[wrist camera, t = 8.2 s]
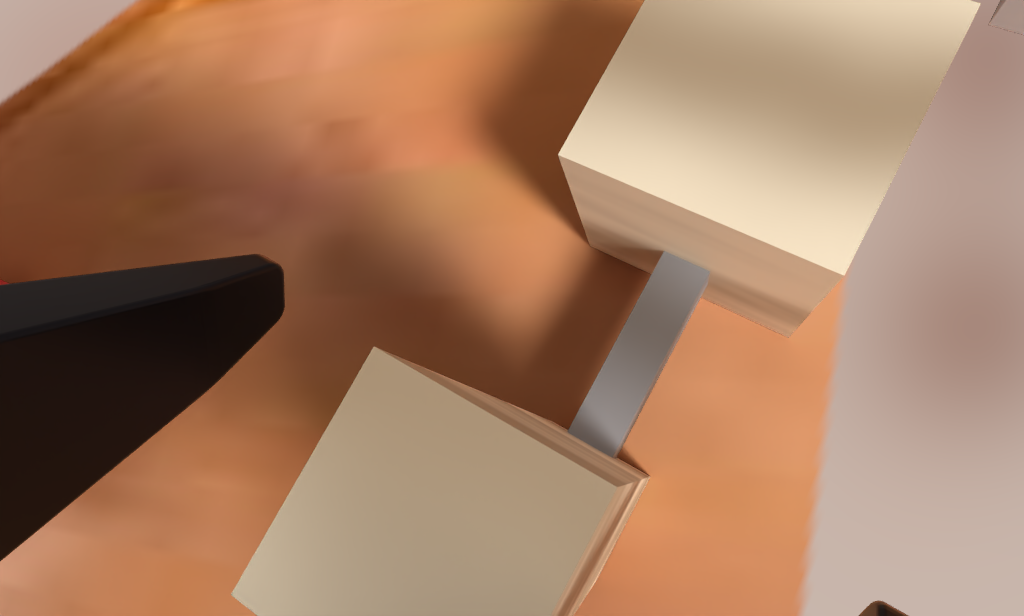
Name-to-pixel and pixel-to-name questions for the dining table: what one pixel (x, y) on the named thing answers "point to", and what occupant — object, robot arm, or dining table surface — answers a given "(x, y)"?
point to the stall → (1009, 16)
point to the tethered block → (652, 323)
